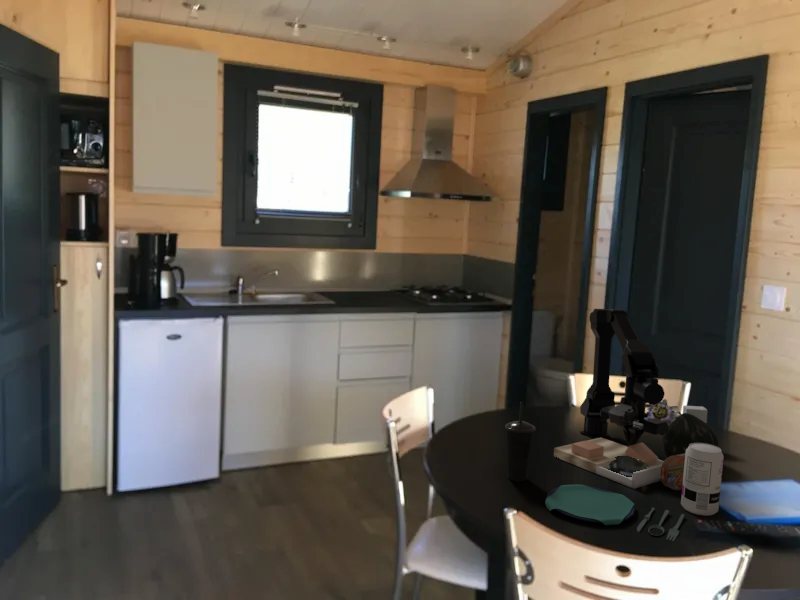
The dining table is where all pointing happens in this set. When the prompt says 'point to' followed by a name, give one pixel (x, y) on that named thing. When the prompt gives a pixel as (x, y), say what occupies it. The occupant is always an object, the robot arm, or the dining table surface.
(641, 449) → the far tile
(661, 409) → the passion flower
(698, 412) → the skincare box
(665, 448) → the squash
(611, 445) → the board
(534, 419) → the dining table surface
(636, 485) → the tray
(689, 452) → the supplement can
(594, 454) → the near tile
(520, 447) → the drinking cup
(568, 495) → the cutlery set
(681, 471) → the snack packet
